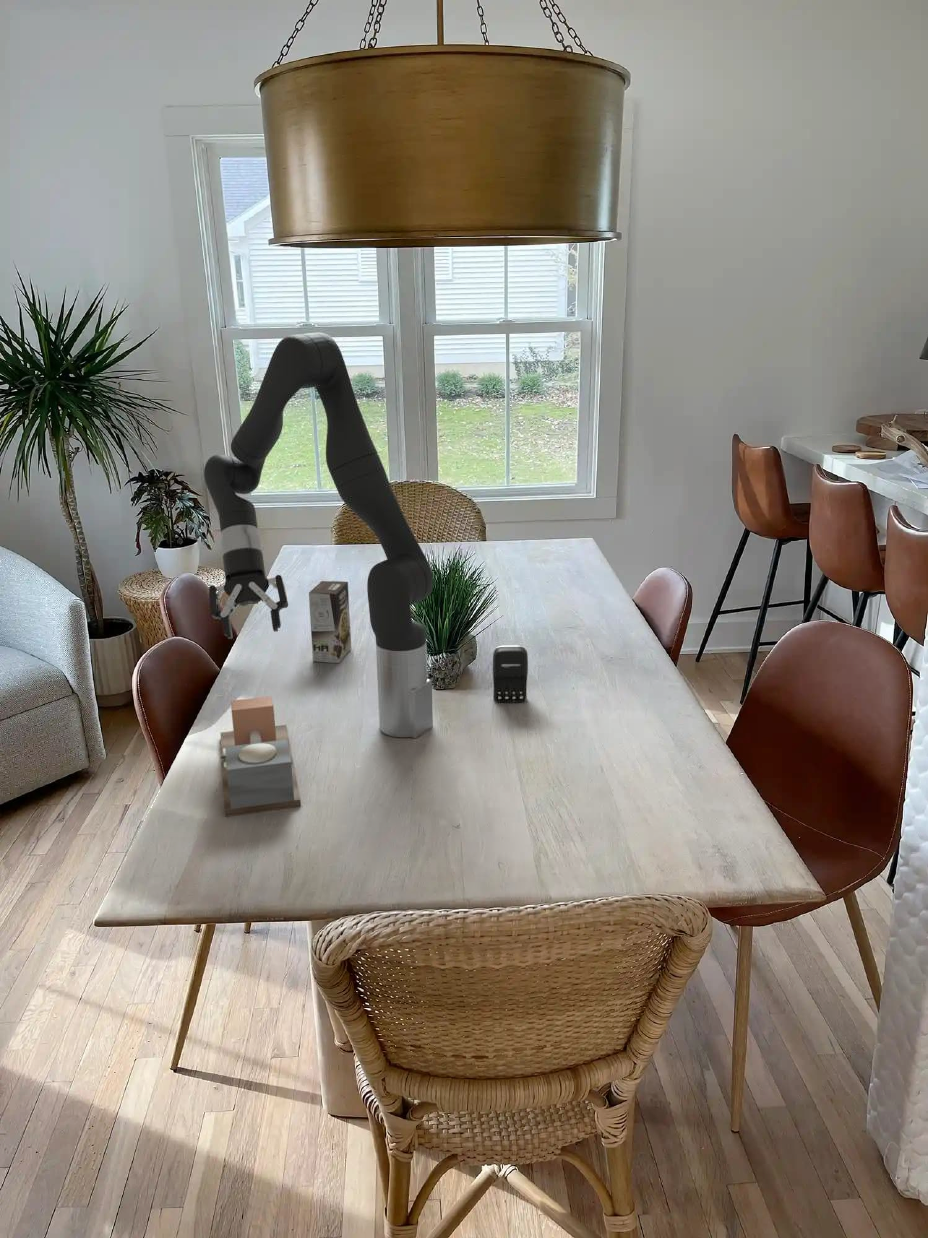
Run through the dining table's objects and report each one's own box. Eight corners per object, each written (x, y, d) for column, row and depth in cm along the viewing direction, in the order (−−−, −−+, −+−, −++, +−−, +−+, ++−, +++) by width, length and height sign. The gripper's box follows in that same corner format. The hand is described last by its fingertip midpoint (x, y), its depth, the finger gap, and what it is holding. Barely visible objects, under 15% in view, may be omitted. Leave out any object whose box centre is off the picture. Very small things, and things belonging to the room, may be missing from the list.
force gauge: (221, 738, 180) (216, 696, 177) (286, 730, 183) (283, 688, 180) (224, 816, 155) (219, 768, 152) (301, 806, 158) (297, 758, 155)
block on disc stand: (220, 754, 171) (215, 702, 168) (276, 747, 174) (271, 696, 170) (221, 778, 163) (216, 725, 160) (280, 771, 165) (275, 718, 162)
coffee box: (339, 663, 213) (335, 594, 208) (312, 661, 214) (307, 592, 209) (352, 648, 222) (349, 580, 216) (325, 646, 223) (321, 579, 217)
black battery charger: (492, 705, 193) (492, 651, 189) (492, 697, 196) (492, 644, 192) (528, 705, 193) (529, 651, 189) (527, 697, 196) (527, 644, 192)
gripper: (200, 552, 182) (210, 635, 178) (276, 540, 184) (288, 623, 180) (209, 565, 190) (218, 645, 186) (282, 553, 191) (293, 633, 187)
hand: (252, 634), depth 183 cm, fingers open, 8 cm apart
